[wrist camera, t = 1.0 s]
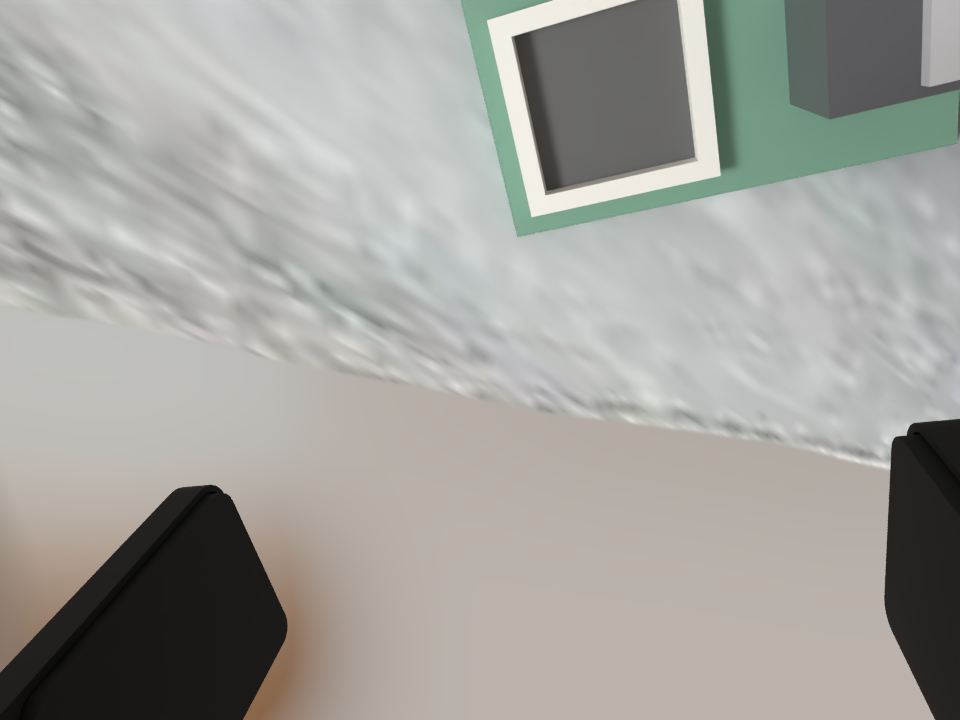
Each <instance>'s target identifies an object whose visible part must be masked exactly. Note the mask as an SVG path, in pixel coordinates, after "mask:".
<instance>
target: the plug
mask: <svg viewBox="0 0 960 720" xmlns="http://www.w3.org/2000/svg"><path fill="white" fill-rule="evenodd" d="M784 6H785V24H786V42H787V60H788V78H789V96H790V104H791V105H793V106H796V107H798V108H801V109H804V110H806V111H809V112H811V113H814V114H816V115H819V116H822V117H824V118H827V119H829V120H830V119H834V118H838V117H843V116H847V115H851V114H856V113H860V112H864V111H869V110H873V109H877V108H882V107H886V106H890V105H895V104H899V103H903V102H908V101H912V100H916V99H921V98H925V97H929V96H934V95H938V94H942V93H947V92H951V91H955V90H960V0H784Z"/></svg>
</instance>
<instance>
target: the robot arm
mask: <svg viewBox="0 0 960 720" xmlns="http://www.w3.org/2000/svg"><path fill="white" fill-rule="evenodd" d="M888 514H889V515H888V533H887V534H888V535H887V554H886V556H887V557H886V575H885V596H884V597H885V598H884V599H885V610H886V614H887V618H888V622H889V625H890V627H891V630H892V632H893V634H894V636H895V638H896V640H897V642H898V644H899V646H900V649H901V651H902V653H903V655H904V657H905V659H906V661H907V663H908V665H909V667H910V669H911V671H912V673H913V675H914V677H915V679H916V681H917V683H918V685H919V687H920V690H921V692H922V693H923V696H924V697H925V700H926V702H927V704H928V706H929V708H930V710H931V712H932V714H933V716H934V718H935V720H960V419H954V420H943V421H932V422H920V423H913V424H912V425H910V427H909V429H908V432H907V436H898V437H895V438H894V440H893V442H892V449H891V470H890V492H889V513H888ZM286 634H287V618H286V615H285V613H284V611H283V609H282V607H281V604H280V602H279V600H278V598H277V596H276V593H275V591H274V589H273V587H272V585H271V583H270V580H269V579H268V576H267V574H266V572H265V570H264V567H263V565H262V563H261V561H260V559H259V557H258V554H257V552H256V551H255V548H254V546H253V544H252V542H251V539H250V537H249V535H248V533H247V531H246V529H245V526H244V524H243V522H242V520H241V518H240V515H239V513H238V511H237V509H236V507H235V504H234V503H233V500H232V499H231V497H230V496H229V495H227V494H224V493H223V491H222V490H221V489H220V488H218V487H217V486H214V485H204V486H192V487H182V488H178V489H176V490H175V491H173V492H172V493H171V494H170V495H169V496H168V497H167V498H166V499H165V500H164V501H163V502H162V503H161V504H160V505H159V507H158V508H157V509H156V510H155V511H154V512H153V513H152V514H151V515H150V516H149V517H148V518H147V519H146V520H145V521H144V522H143V523H142V524H141V526H140V527H139V528H138V529H137V530H136V531H135V532H134V533H133V534H132V535H131V536H130V537H129V538H128V539H127V540H126V541H125V542H124V543H123V544H122V545H121V546H120V548H119V549H118V550H117V551H116V552H115V553H114V554H113V555H112V556H111V557H110V558H109V559H108V560H107V561H106V562H105V563H104V564H103V566H101V567H100V569H99V570H98V571H97V572H96V573H95V574H94V575H93V576H92V577H91V578H90V579H89V580H88V581H87V582H86V583H85V584H84V585H83V587H81V588H80V590H79V591H78V592H77V593H76V594H75V595H74V596H73V597H72V598H71V599H70V600H69V601H68V602H67V603H66V604H65V605H64V606H63V607H62V609H60V611H59V612H58V613H57V614H56V615H55V616H54V617H53V618H52V619H51V620H50V621H49V622H48V623H47V624H46V625H45V626H44V628H42V629H41V630H40V632H39V633H38V634H37V635H36V636H35V637H34V638H33V639H32V640H31V641H30V642H29V643H28V644H27V645H26V646H25V647H24V648H23V649H22V650H21V652H20V653H19V654H18V655H17V656H16V657H15V658H14V659H13V660H12V661H11V662H10V663H9V664H8V665H7V666H6V667H5V668H4V669H3V670H2V672H1V673H0V720H243V718H244V716H245V715H246V713H247V711H248V709H249V707H250V705H251V703H252V701H253V700H254V698H255V696H256V694H257V692H258V690H259V688H260V686H261V684H262V683H263V681H264V678H265V677H266V675H267V673H268V671H269V669H270V667H271V666H272V664H273V662H274V660H275V658H276V656H277V654H278V652H279V650H280V648H281V646H282V645H283V643H284V641H285V638H286Z"/></svg>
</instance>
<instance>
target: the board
mask: <svg viewBox="0 0 960 720" xmlns="http://www.w3.org/2000/svg"><path fill="white" fill-rule="evenodd" d="M461 4H462V8H463V12H464V17H465V21H466V25H467V29H468V33H469V37H470V42H471V46H472V50H473V54H474V58H475V62H476V67H477V71H478V75H479V79H480V83H481V87H482V92H483V96H484V100H485V104H486V108H487V113H488V117H489V121H490V125H491V129H492V133H493V138H494V142H495V146H496V150H497V154H498V158H499V163H500V167H501V171H502V175H503V179H504V183H505V188H506V192H507V196H508V200H509V204H510V208H511V213H512V217H513V221H514V225H515V229H516V233H517V237H520V236H525V235H530V234H534V233H539V232H544V231H548V230H553V229H558V228H563V227H567V226H572V225H577V224H581V223H586V222H591V221H596V220H600V219H605V218H610V217H614V216H619V215H624V214H629V213H633V212H638V211H643V210H647V209H652V208H657V207H662V206H666V205H671V204H676V203H680V202H685V201H690V200H695V199H699V198H704V197H709V196H713V195H718V194H723V193H727V192H732V191H737V190H742V189H746V188H751V187H756V186H760V185H765V184H770V183H775V182H779V181H784V180H789V179H793V178H798V177H803V176H808V175H812V174H817V173H822V172H826V171H831V170H836V169H841V168H845V167H850V166H855V165H859V164H864V163H869V162H873V161H878V160H883V159H888V158H892V157H897V156H902V155H906V154H911V153H916V152H921V151H925V150H930V149H935V148H939V147H944V146H949V145H954V144H957V136H958V115H959V93H960V90H955V91H951V92H947V93H942V94H938V95H934V96H929V97H925V98H921V99H916V100H912V101H908V102H903V103H899V104H895V105H890V106H886V107H882V108H877V109H873V110H869V111H864V112H860V113H856V114H851V115H847V116H843V117H838V118H834V119H830V120H829V119H827V118H824V117H822V116H819V115H816V114H814V113H811V112H809V111H806V110H804V109H801V108H798V107H796V106H793V105H791V104H790V96H789V78H788V60H787V42H786V24H785V6H784V0H461Z"/></svg>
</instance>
